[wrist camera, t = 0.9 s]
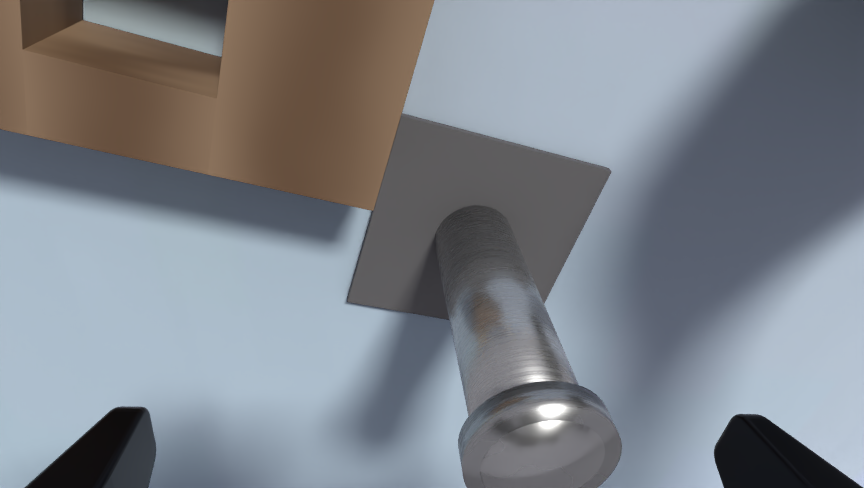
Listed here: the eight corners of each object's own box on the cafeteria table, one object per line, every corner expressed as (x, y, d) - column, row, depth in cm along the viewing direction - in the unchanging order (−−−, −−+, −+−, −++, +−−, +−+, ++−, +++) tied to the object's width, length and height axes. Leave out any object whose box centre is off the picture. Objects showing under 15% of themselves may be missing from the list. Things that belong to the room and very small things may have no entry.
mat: (608, 168, 21) (611, 171, 21) (526, 329, 25) (528, 333, 25) (400, 113, 19) (401, 116, 19) (347, 297, 23) (347, 301, 23)
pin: (537, 208, 21) (650, 419, 13) (501, 287, 23) (579, 517, 15) (441, 185, 20) (496, 397, 12) (412, 269, 22) (442, 504, 14)
